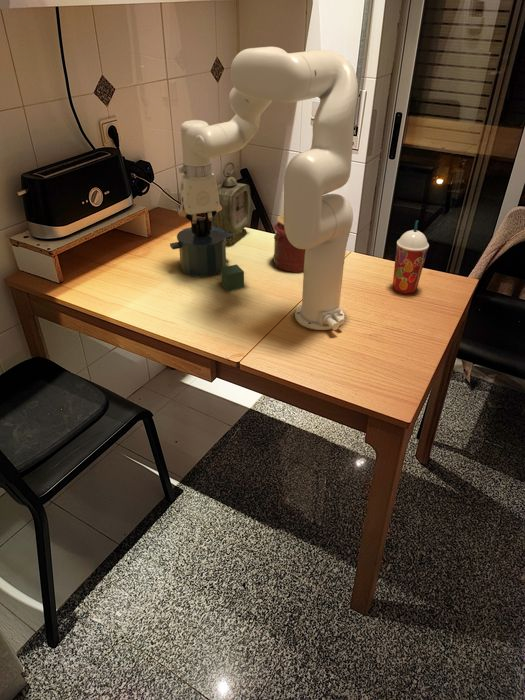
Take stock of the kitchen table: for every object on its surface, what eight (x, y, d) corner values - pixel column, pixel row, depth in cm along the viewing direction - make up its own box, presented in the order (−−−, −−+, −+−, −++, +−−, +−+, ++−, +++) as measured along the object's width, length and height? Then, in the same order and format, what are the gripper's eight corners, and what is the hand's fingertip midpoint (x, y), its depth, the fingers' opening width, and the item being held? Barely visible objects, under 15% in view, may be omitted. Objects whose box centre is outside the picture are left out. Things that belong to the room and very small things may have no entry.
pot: (241, 269, 156) (241, 239, 150) (181, 282, 149) (178, 251, 143) (223, 252, 166) (222, 224, 160) (166, 263, 159) (163, 234, 153)
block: (244, 287, 147) (244, 271, 144) (228, 290, 145) (227, 274, 142) (237, 280, 150) (236, 264, 147) (221, 283, 148) (220, 267, 146)
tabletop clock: (231, 248, 169) (229, 170, 154) (207, 243, 172) (203, 166, 158) (251, 232, 180) (250, 158, 165) (228, 228, 183) (225, 155, 168)
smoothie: (424, 288, 147) (439, 220, 135) (409, 299, 142) (423, 229, 130) (399, 279, 151) (410, 213, 140) (383, 289, 146) (394, 221, 135)
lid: (234, 243, 150) (234, 223, 146) (186, 252, 144) (185, 231, 141) (215, 226, 160) (214, 207, 157) (170, 234, 155) (168, 214, 151)
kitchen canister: (324, 266, 158) (328, 209, 148) (290, 276, 152) (292, 218, 142) (298, 251, 167) (301, 197, 157) (265, 260, 161) (265, 205, 151)
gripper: (173, 177, 135) (179, 243, 146) (230, 170, 141) (232, 234, 152) (164, 170, 141) (171, 234, 151) (220, 163, 147) (222, 225, 157)
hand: (201, 233), depth 151 cm, fingers closed on lid, 2 cm apart
